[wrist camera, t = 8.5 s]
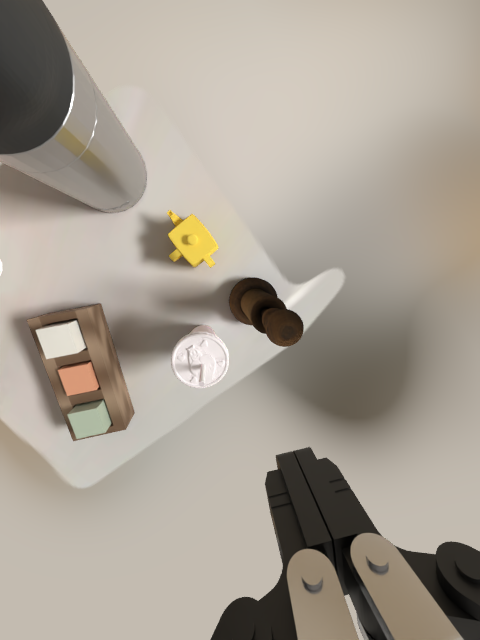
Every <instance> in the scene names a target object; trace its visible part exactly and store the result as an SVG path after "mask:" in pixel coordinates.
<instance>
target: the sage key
mask: <svg viewBox="0 0 480 640" xmlns="http://www.w3.org/2000/svg"><path fill="white" fill-rule="evenodd" d="M67 415H68V418H69V420H70V423H71V426H72V428H73V431H74V433H75V436H76V439H80V438H84V437H89V436H93V435H98V434H102V433H106V431H107V430H108V428H109V426H110V425H111V423H112V420H111V417H110V414H109V411H108V408H107V405H106V402H105V399H99V400H94V401H90V402H85V403H80V404H77V405H76V406H75V407H74V408H73V409H72V410H71V411H70V412H69V413H68V414H67Z"/></svg>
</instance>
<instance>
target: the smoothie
mask: <svg viewBox="0 0 480 640" xmlns="http://www.w3.org/2000/svg"><path fill="white" fill-rule="evenodd" d="M228 365H229V354H228V350H227V348H226V345H225V344H224V343H223V341H222V340H221V339H220V338H218V337H217V335H216V334H215V332H214V330H213V329H212V328H211V327H209V326H206V325H200V326H197V327H195V328H194V329H193V330H192V331H191V332H190V333H189V334H187V335H185V336H184V337H182V338H181V339H180V340H179V341H178V342H177V344H176V345H175V346H174V349H173V352H172V357H171V366H172V370H173V372H174V374H175V376H176V377H177V378H178V379H179V380H180V381H181V382H182V383H184V384H186V385H188V386H190V387H194V388H205V387H209V386H212V385H214V384H216V383H217V382H219V381H220V380H221V379H222V378H223V376H224V375H225V373H226V371H227V369H228Z"/></svg>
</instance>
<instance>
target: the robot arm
mask: <svg viewBox="0 0 480 640" xmlns="http://www.w3.org/2000/svg"><path fill="white" fill-rule="evenodd" d="M0 162H2V163H4V164H6V165H8V166H10V167H12V168H14V169H16V170H18V171H20V172H22V173H24V174H26V175H28V176H30V177H32V178H34V179H36V180H38V181H40V182H42V183H44V184H46V185H48V186H50V187H52V188H54V189H56V190H59V191H61V192H63V193H65V194H67V195H69V196H71V197H73V198H75V199H77V200H79V201H81V202H83V203H85V204H87V205H89V206H91V207H93V208H95V209H98V210H100V211H104V212H110V213H113V212H121V211H125V210H127V209H129V208H131V207H132V206H134V205H135V204H136V203H137V202H138V201H139V199H140V198H141V196H142V195H143V192H144V190H145V187H146V180H147V177H146V168H145V164H144V161H143V159H142V157H141V154H140V153H139V151H138V150H137V148H136V146H135V145H134V143H133V142H132V140H131V138H130V137H129V135H128V134H127V132H126V131H125V129H124V127H123V126H122V124H121V123H120V121H119V120H118V118H117V116H116V115H115V113H114V112H113V110H112V109H111V107H110V105H109V104H108V102H107V101H106V99H105V98H104V96H103V94H102V93H101V91H100V90H99V88H98V87H97V85H96V83H95V82H94V80H93V79H92V77H91V76H90V74H89V73H88V71H87V69H86V68H85V66H84V65H83V63H82V61H81V60H80V59H79V57H78V56H77V54H76V52H75V51H74V49H73V48H72V46H71V45H70V43H69V42H68V40H67V39H66V37H65V35H64V34H63V32H62V31H61V29H60V28H59V26H58V24H57V23H56V21H55V20H54V18H53V16H52V15H51V13H50V12H49V10H48V8H47V7H46V6H45V4H44V2H43V1H42V0H0ZM276 461H277V467H278V470H274V471H269V472H267V477H266V482H265V486H266V491H267V496H268V502H269V507H270V513H271V517H272V521H273V525H274V529H275V534H276V538H277V542H278V546H279V551H280V555H281V559H282V563H283V570H282V574H281V576H280V579H279V581H278V583H277V585H276V586H275V587H274V588H273V589H272V590H271V591H270V592H269V593H268V594H266V596H264V597H263V598H261V599H260V600H259V601H257V600H255V599H253V598H250V597H242V598H238V599H236V600H235V601H233V602H232V603H231V604H230V605H229V606H228V607H227V608H226V609H225V611H224V613H223V614H222V616H221V618H220V621H219V623H218V625H217V627H216V629H215V631H214V634H213V635H212V638H211V640H359V638H358V635H357V632H356V629H355V627H354V623H353V621H352V618H351V615H350V612H349V609H348V606H347V603H346V600H345V597H344V595H348V594H349V595H350V597H351V600H352V602H353V605H354V607H355V610H356V613H357V621H358V625H359V629H360V631H361V633H362V636H363V638H364V640H480V551H478V550H476V549H474V548H472V547H470V546H467V545H465V544H462V543H458V542H445V543H443V544H441V545H440V546H439V547H438V548H437V551H436V554H427V553H418V552H411V551H406V550H403V549H401V548H398V547H396V546H395V545H393V544H392V543H391V542H390V541H388V540H387V539H386V538H384V537H383V536H382V535H381V534H380V533H379V532H378V531H377V529H376V528H375V526H374V524H373V523H372V521H371V520H370V518H369V517H368V515H367V513H366V512H365V510H364V509H363V507H362V505H361V504H360V502H359V501H358V499H357V497H356V496H355V494H354V493H353V491H352V490H351V488H350V486H349V485H348V483H347V481H346V480H345V479H344V477H343V475H342V473H341V472H340V470H339V469H338V467H337V466H336V465H335V464H334V463H332V462H331V461H330V460H329V459H327V458H323V459H318V460H317V458H316V457H315V455H314V453H313V451H312V449H311V448H310V447H308V448H304V449H300V450H296V451H293V452H288V453H283V454H279V455H276Z"/></svg>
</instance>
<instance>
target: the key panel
mask: <svg viewBox="0 0 480 640" xmlns="http://www.w3.org/2000/svg"><path fill="white" fill-rule="evenodd" d="M76 319H78V322H79V324H80V327H81V330H82V333H83V336H84V339H85V342H86V345H87V347H86V348H85V349H83V350H82V351H80V352H79V353H76V354H71V355H66V356H60V357H55V358H50V359H46V357H45V354H44V352H43V349H42V346H41V344H40V341H39V338H38V336H37V333H36V331H35V330H37V329H40V328H42V327H45V326H48V325H51V324H55V323H60V322H66V321H71V320H76ZM27 322H28V325H29V327H30V330H31V332H32V335H33V338H34V340H35V343H36V345H37V348H38V351H39V353H40V356H41V359H42V361H43V364H44V366H45V369H46V372H47V374H48V377H49V379H50V382H51V385H52V387H53V390H54V392H55V395H56V398H57V400H58V403H59V405H60V408H61V411H62V413H63V416H64V418H65V421H66V424H67V426H68V429H69V431H70V434H71V437H72V439H73V441H76V440H80V439H85V438H89V437H94V436H98V435H103V434H107V433H112V432H116V431H121V430H125V429H126V428H127V426H128V424H129V422H130V420H131V419H132V417H133V415H134V413H135V412H134V409H133V406H132V403H131V399H130V396H129V393H128V390H127V387H126V383H125V380H124V377H123V374H122V370H121V367H120V364H119V361H118V357H117V354H116V351H115V348H114V344H113V341H112V338H111V335H110V331H109V328H108V325H107V322H106V318H105V315H104V312H103V309H102V306H101V304H96V305H91V306H86V307H80V308H75V309H69V310H64V311H59V312H53V313H48V314H45V315H41V316H38V317H34V318H31V319H28V320H27ZM88 360H92V363H93V366H94V369H95V372H96V375H97V378H98V381H99V384H100V387H99V388H98V389H97V390H94V391H90V392H85V393H80V394H75V395H70V396H67V394H66V391H65V389H64V386H63V383H62V381H61V378H60V375H59V372H58V370H59V369H60V368H62V367H63V366H65V365H68V364H73V363H78V362H83V361H88ZM99 399H105V402H106V405H107V408H108V411H109V414H110V417H111V420H112V423H111V425H110V426H109V428H108V430H107V431H106V433H102V434H98V435H93V436H89V437H84V438H80V439H76V436H75V433H74V431H73V428H72V426H71V423H70V420H69V418H68V415H67V414H68V413H69V412H70V411H71V410H72V409H73V408H74V407H75V406H76V405H77V404H80V403H85V402H90V401H94V400H99Z"/></svg>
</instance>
